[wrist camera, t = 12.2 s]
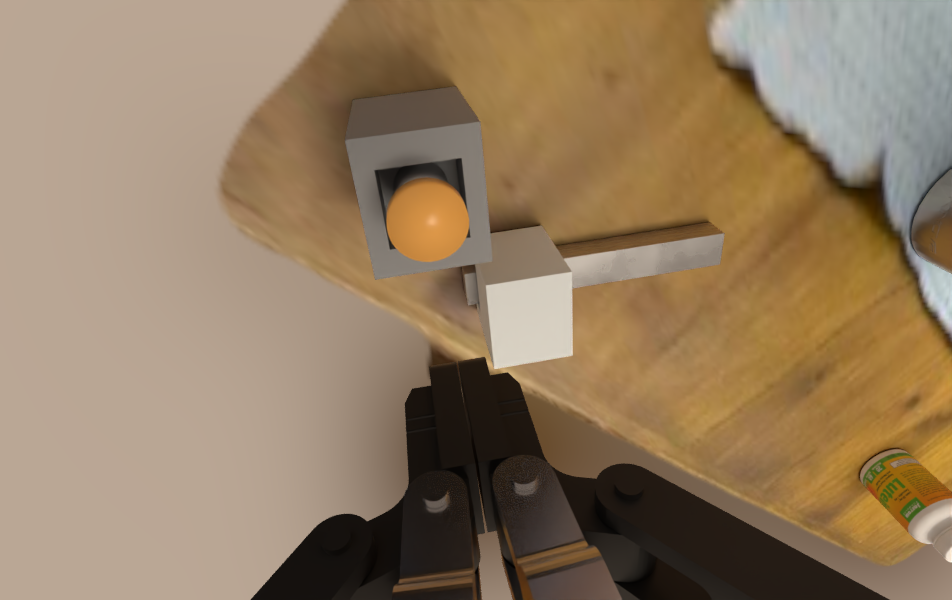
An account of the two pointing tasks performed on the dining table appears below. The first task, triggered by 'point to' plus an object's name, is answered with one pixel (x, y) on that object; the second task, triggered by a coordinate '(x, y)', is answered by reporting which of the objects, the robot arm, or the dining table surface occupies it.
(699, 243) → the rail
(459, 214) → the ball
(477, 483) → the robot arm
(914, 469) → the supplement bottle
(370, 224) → the grey square housing
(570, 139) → the dining table surface
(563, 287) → the carriage
